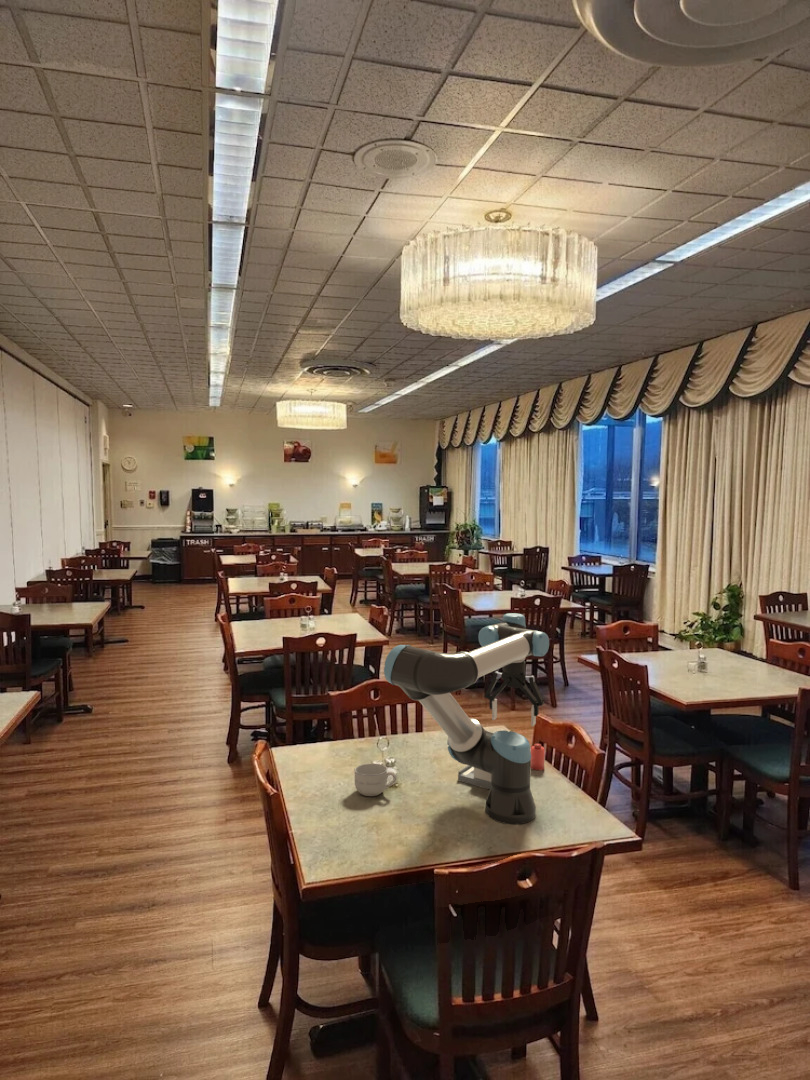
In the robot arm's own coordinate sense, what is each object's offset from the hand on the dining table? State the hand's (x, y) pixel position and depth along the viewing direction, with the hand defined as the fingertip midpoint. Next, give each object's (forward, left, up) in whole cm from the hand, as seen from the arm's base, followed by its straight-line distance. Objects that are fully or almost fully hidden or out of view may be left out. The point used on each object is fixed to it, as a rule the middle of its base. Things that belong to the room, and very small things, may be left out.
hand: (513, 721), depth 220 cm
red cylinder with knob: (-3, -14, -20) cm, 24 cm away
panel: (+7, -1, -20) cm, 21 cm away
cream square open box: (+5, +6, -18) cm, 19 cm away
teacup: (+32, +35, -20) cm, 52 cm away
